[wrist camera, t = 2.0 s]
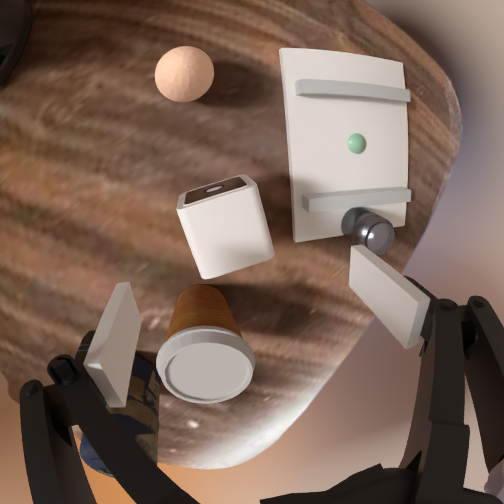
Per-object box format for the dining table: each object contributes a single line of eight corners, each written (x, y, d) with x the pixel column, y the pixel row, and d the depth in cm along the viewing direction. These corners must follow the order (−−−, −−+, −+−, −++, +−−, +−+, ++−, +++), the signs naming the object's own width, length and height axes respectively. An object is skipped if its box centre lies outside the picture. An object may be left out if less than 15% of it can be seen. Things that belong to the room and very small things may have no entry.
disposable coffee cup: (241, 272, 35) (263, 336, 24) (236, 334, 38) (252, 403, 27) (161, 271, 33) (149, 337, 22) (165, 335, 36) (161, 406, 25)
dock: (278, 50, 25) (287, 42, 22) (397, 63, 27) (412, 60, 24) (292, 239, 34) (301, 249, 31) (400, 223, 36) (413, 230, 33)
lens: (340, 208, 33) (365, 223, 27) (371, 204, 33) (398, 217, 28) (340, 242, 34) (363, 262, 29) (370, 237, 35) (395, 254, 30)
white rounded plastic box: (239, 168, 30) (258, 184, 21) (255, 227, 33) (279, 266, 24) (181, 186, 29) (174, 210, 20) (202, 244, 32) (205, 290, 23)
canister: (168, 389, 40) (169, 490, 24) (114, 392, 39) (100, 487, 23) (150, 345, 37) (140, 461, 20) (91, 350, 35) (61, 454, 19)
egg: (150, 79, 24) (134, 61, 17) (192, 50, 24) (191, 22, 16) (180, 115, 26) (173, 108, 19) (222, 86, 26) (231, 69, 18)
